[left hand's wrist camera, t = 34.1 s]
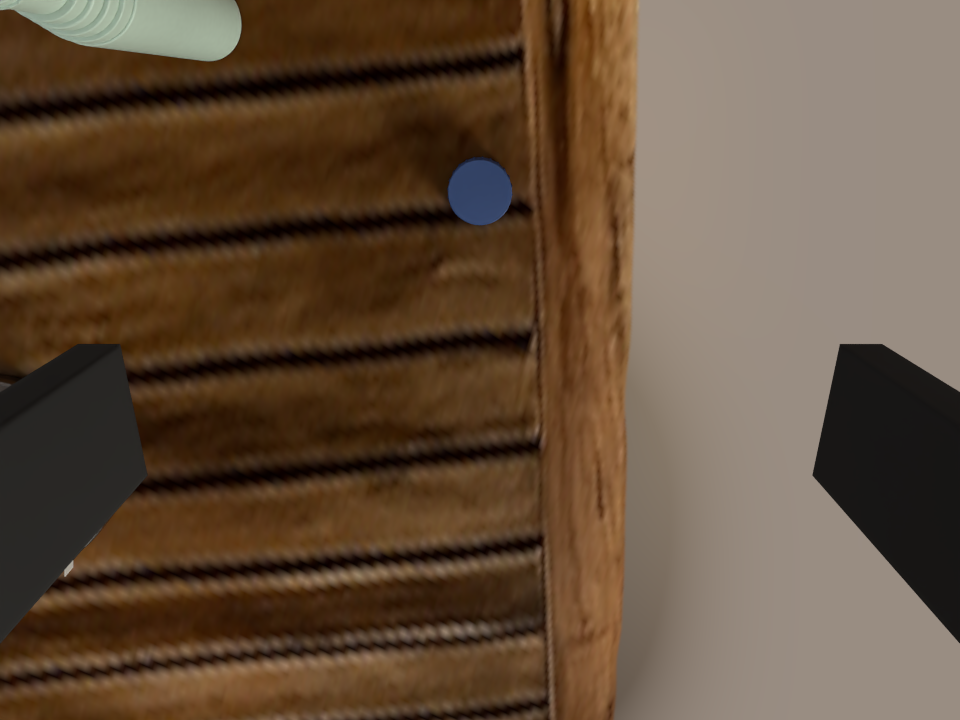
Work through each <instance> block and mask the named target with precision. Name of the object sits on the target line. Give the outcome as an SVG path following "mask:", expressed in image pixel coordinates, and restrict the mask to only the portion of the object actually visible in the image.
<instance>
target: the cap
mask: <svg viewBox="0 0 960 720" xmlns="http://www.w3.org/2000/svg"><path fill="white" fill-rule="evenodd" d="M509 179H510V177H509V175H507V173H506V171H505V168H502V166H501V165H499V162H495V161H493V160H492V159H491V158H490V159H488V158H483V156H482V157H477V158H475V157H474V158H472V159H469V160H467V159H466V161H465V162H463V163H462V164H459V166H458V167H457V168H456V170H454V171H453V175H452V177H451V178H450V179H449V182H450V183H449V186H448V188H447V190H448V199H449V202H450V206H451V207H452V209H453V211H454V212H455V214H456V215H457V216H458V217H460V218H461V219H462V220H464V221H465V222H468V223H470V224H474V225H486V224H490V223H492V222H494V221H496V220H498V219H499V218H500V217H501V216H502V215H503V214H504V213H505V212H506V211H507V209H508V207H509V205H510V203H511V197H512V188H511V187H512V184H511V183H510V180H509Z"/></svg>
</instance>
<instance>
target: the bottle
mask: <svg viewBox="0 0 960 720" xmlns="http://www.w3.org/2000/svg"><path fill="white" fill-rule="evenodd" d="M4 9H12V10H15V11H17V12H18V13H20V14H21V15H23V16H25V17H27V18H29V19H30V20H32V21H33V22H35V23H37V24H39V25H40V26H42V27H43V28H45V29H47V30H48V31H50V32H52V33H53V34H55V35H57V36H59V37H61V38H63V39H66V40H69V41H72V42H74V43H77V44H80V45H85V46H92V47H100V48H108V49H115V50H123V51H131V52H139V53H147V54H155V55H162V56H170V57H178V58H186V59H194V60H202V61H215V60H219V59H222V58H224V57H225V56H227V55H228V54H229V53H231V51H232V50H233V49H234V48H235V46H236V45H237V43H238V41H239V38H240V34H241V16H240V12H239V9H238V6H237V4H236V2H235V0H0V10H4Z"/></svg>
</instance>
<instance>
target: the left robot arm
mask: <svg viewBox="0 0 960 720" xmlns="http://www.w3.org/2000/svg"><path fill="white" fill-rule="evenodd" d="M146 476H147V471H146V466H145V461H144V456H143V451H142V447H141V442H140V437H139V432H138V428H137V423H136V418H135V413H134V409H133V404H132V399H131V394H130V390H129V385H128V380H127V375H126V370H125V366H124V361H123V356H122V351H121V347H120V344H77V345H76V346H74V347H73V348H71V349H69V350H68V351H66V352H64V353H63V354H61V355H60V356H58V357H56V358H55V359H53V360H51V361H50V362H48V363H47V364H45V365H43V366H42V367H40V368H38V369H37V370H35V371H34V372H32V373H30V374H29V375H27V376H26V377H24V378H22V379H19V378H15V377H11V376H6V375H0V643H1V642H2V641H3V640H4V638H5V637H6V636H7V635H8V634H9V633H10V632H11V630H12V629H13V628H14V627H15V626H16V625H17V624H18V622H19V621H20V620H21V619H22V618H23V617H24V616H25V614H26V613H27V612H28V611H29V610H30V609H31V608H32V607H33V605H34V604H35V603H36V602H37V601H38V600H39V599H40V597H41V596H42V595H43V594H44V593H45V592H46V591H47V589H48V588H49V587H50V586H51V585H52V584H53V583H54V581H55V580H56V579H57V578H58V577H59V576H60V575H61V573H62V572H63V571H64V574H65V576H66V575H67V574H68V573H69V571H70V570H71V569H72V568H73V560H74V559H75V557H76V556H77V555H78V554H79V553H80V552H81V551H82V549H84V548H85V547H86V546H87V545H88V544H89V543H90V542H91V541H92V540H93V539H94V538H95V537H96V536H97V535H98V534H99V532H100V531H101V530H102V529H103V528H104V526H105V525H106V524H107V522H108V521H109V519H110V518H111V516H112V515H113V514H114V513H115V512H116V511H117V510H118V508H119V507H120V506H121V505H122V504H123V503H124V502H125V500H126V499H127V498H128V497H129V496H130V495H131V494H132V492H133V491H134V490H135V489H136V488H137V487H138V486H139V484H140V483H141V482H142V481H143V480H144V479H145V478H146ZM813 476H814V478H815V479H816V480H817V481H818V482H819V483H820V484H821V486H822V487H823V488H824V489H825V490H826V491H827V492H828V494H829V495H830V496H831V497H832V498H833V499H834V500H835V502H836V503H837V504H838V505H839V506H840V507H841V508H842V510H843V511H844V512H845V513H846V514H847V515H848V516H849V518H850V519H851V520H852V521H853V522H854V523H855V524H856V526H857V527H858V528H859V529H860V530H861V531H862V532H863V533H864V535H865V536H866V537H867V538H868V539H869V540H870V541H871V543H872V544H873V545H874V546H875V547H876V548H877V549H878V551H879V552H880V553H881V554H882V555H883V556H884V557H885V559H886V560H887V561H888V562H889V563H890V564H891V565H892V567H893V568H894V569H895V570H896V571H897V572H898V573H899V575H900V576H901V577H902V578H903V579H904V580H905V581H906V583H907V584H908V585H909V586H910V587H911V588H912V589H913V590H914V592H915V593H916V594H917V595H918V596H919V597H920V599H921V600H922V601H923V602H924V603H925V604H926V605H927V607H928V608H929V609H930V610H931V611H932V612H933V613H934V614H935V616H936V617H937V618H938V619H939V620H940V621H941V622H942V624H943V625H944V626H945V627H946V628H947V629H948V630H949V632H950V633H951V634H952V635H953V636H954V637H955V638H956V640H957V641H958V642H959V643H960V392H959V391H957V390H956V389H954V388H952V387H951V386H949V385H947V384H946V383H944V382H943V381H941V380H939V379H938V378H936V377H934V376H933V375H931V374H930V373H928V372H926V371H925V370H923V369H922V368H920V367H918V366H917V365H915V364H913V363H912V362H910V361H908V360H907V359H905V358H904V357H902V356H900V355H899V354H897V353H896V352H894V351H892V350H891V349H889V348H887V347H886V346H884V345H883V344H840V347H839V351H838V356H837V361H836V366H835V370H834V375H833V380H832V385H831V390H830V394H829V399H828V404H827V409H826V413H825V418H824V423H823V428H822V432H821V437H820V442H819V447H818V451H817V456H816V461H815V466H814V470H813Z"/></svg>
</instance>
